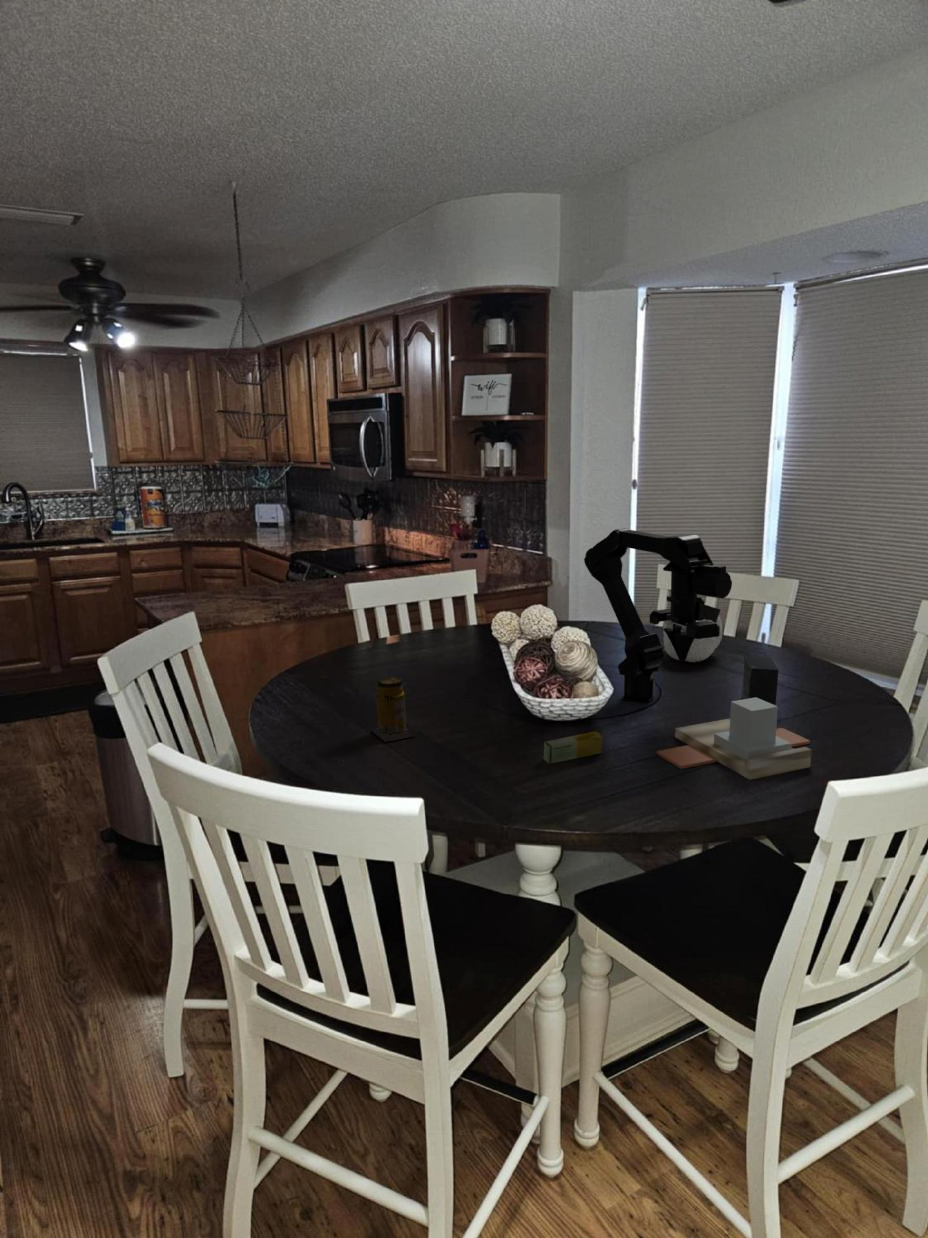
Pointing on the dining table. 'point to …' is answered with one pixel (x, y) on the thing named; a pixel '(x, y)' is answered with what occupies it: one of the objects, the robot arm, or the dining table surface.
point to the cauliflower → (696, 645)
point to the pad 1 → (686, 756)
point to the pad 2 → (791, 737)
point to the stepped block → (752, 730)
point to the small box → (760, 679)
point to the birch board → (750, 767)
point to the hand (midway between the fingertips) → (682, 660)
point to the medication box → (572, 747)
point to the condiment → (391, 706)
